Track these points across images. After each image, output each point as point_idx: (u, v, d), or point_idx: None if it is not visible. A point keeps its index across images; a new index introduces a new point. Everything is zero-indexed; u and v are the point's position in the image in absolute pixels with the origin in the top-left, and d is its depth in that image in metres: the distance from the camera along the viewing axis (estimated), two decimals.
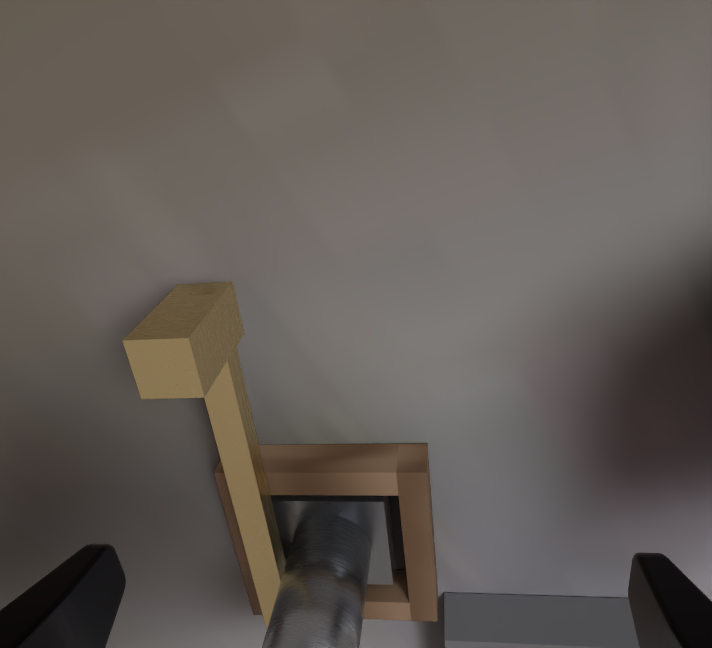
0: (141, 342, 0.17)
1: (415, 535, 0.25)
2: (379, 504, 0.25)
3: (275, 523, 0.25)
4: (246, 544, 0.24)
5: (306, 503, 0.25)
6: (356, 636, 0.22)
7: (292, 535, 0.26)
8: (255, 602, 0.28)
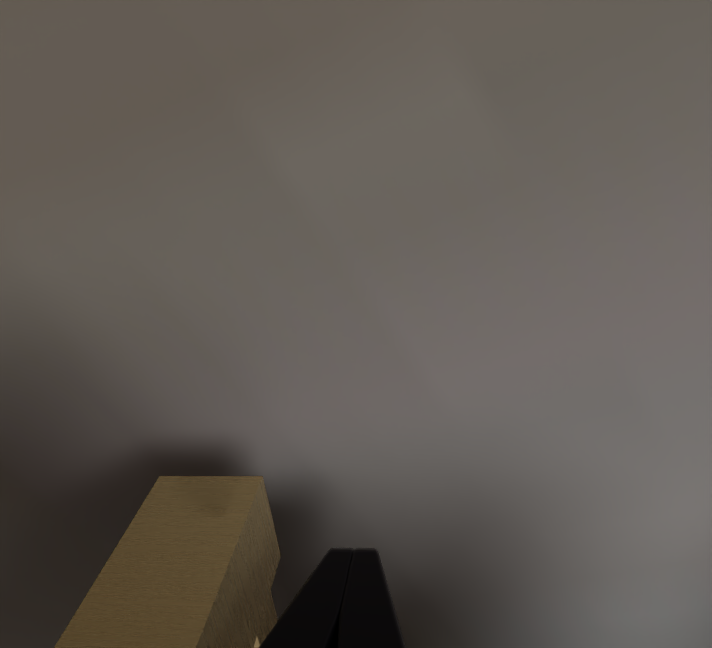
0: None
1: None
2: None
3: None
4: None
5: None
6: None
7: None
8: None
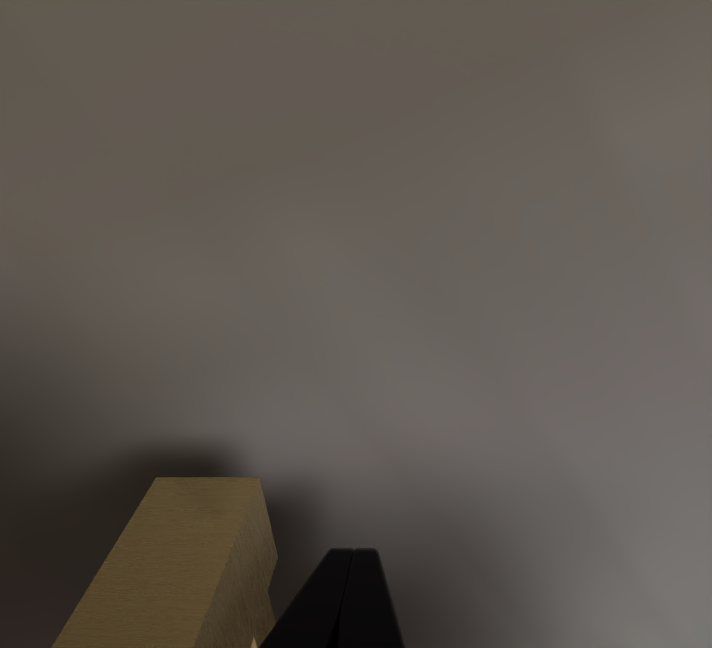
0: None
1: None
2: None
3: None
4: None
5: None
6: None
7: None
8: None
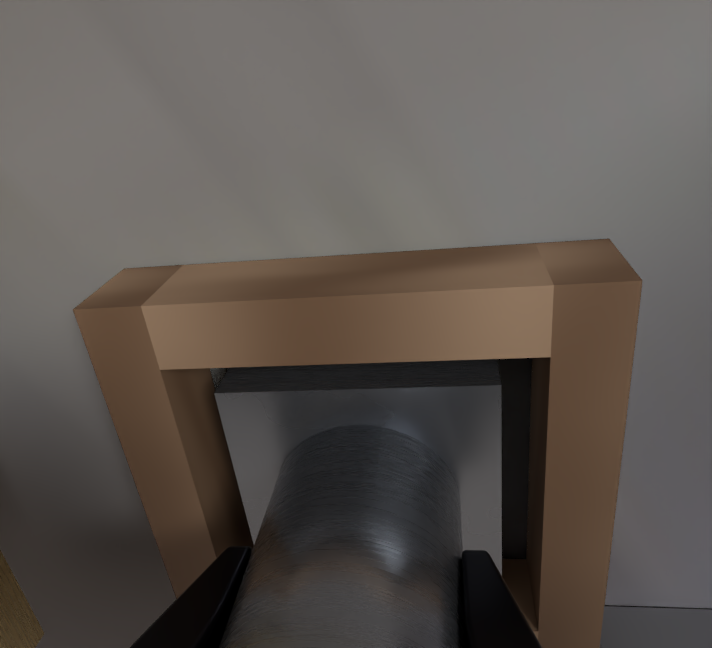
0: None
1: (578, 468, 0.10)
2: (489, 391, 0.10)
3: None
4: None
5: (306, 396, 0.10)
6: None
7: (274, 480, 0.11)
8: None
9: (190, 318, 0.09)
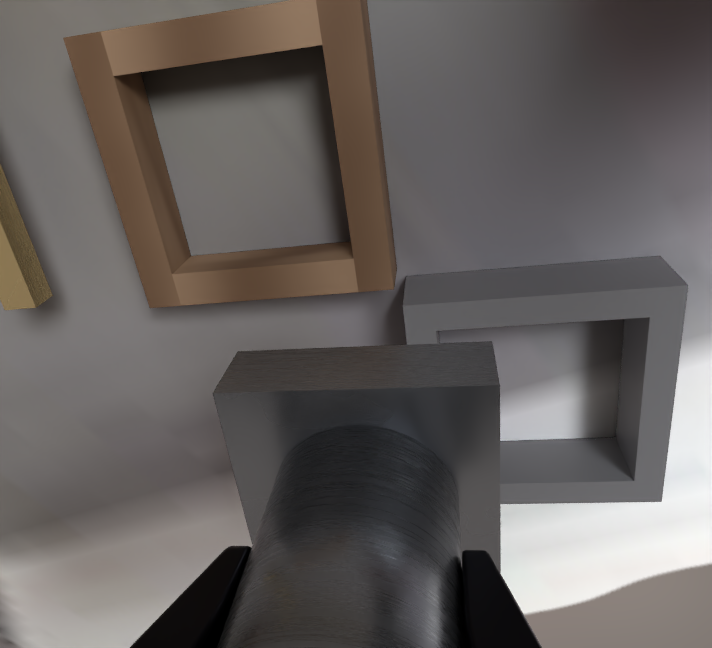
0: None
1: (352, 124, 0.17)
2: (487, 391, 0.10)
3: None
4: None
5: (305, 396, 0.10)
6: None
7: (273, 479, 0.11)
8: (149, 285, 0.21)
9: (128, 37, 0.17)
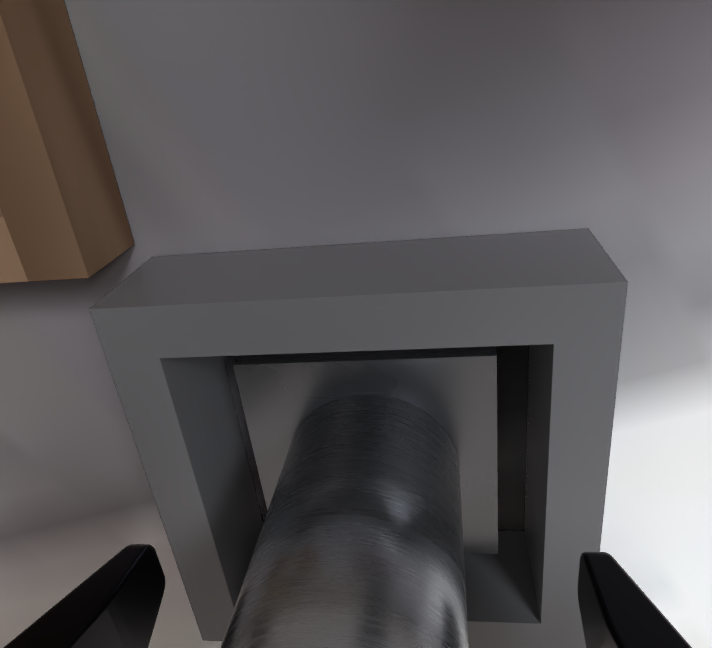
0: None
1: None
2: (485, 362, 0.11)
3: None
4: None
5: (318, 367, 0.11)
6: None
7: (287, 447, 0.12)
8: None
9: None
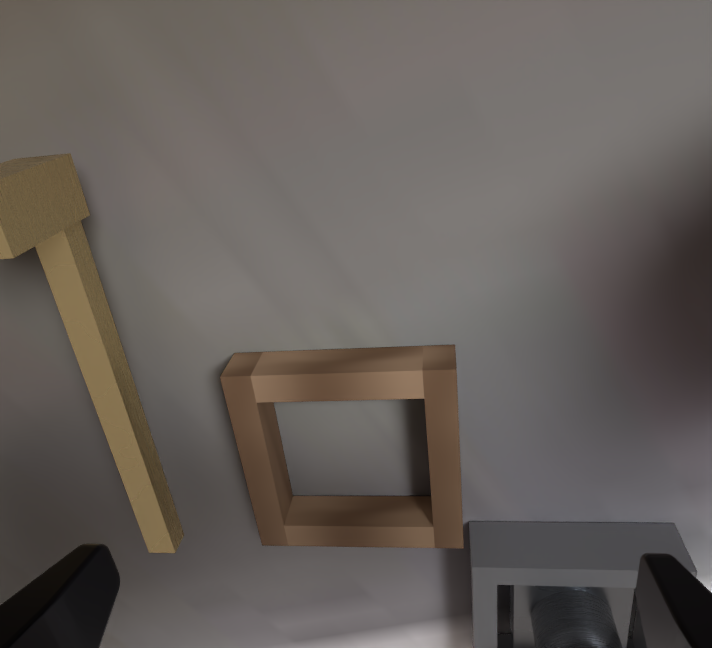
0: None
1: (442, 446, 0.22)
2: None
3: (149, 436, 0.23)
4: (116, 456, 0.23)
5: None
6: None
7: (531, 608, 0.26)
8: (264, 531, 0.26)
9: (271, 381, 0.22)
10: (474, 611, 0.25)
